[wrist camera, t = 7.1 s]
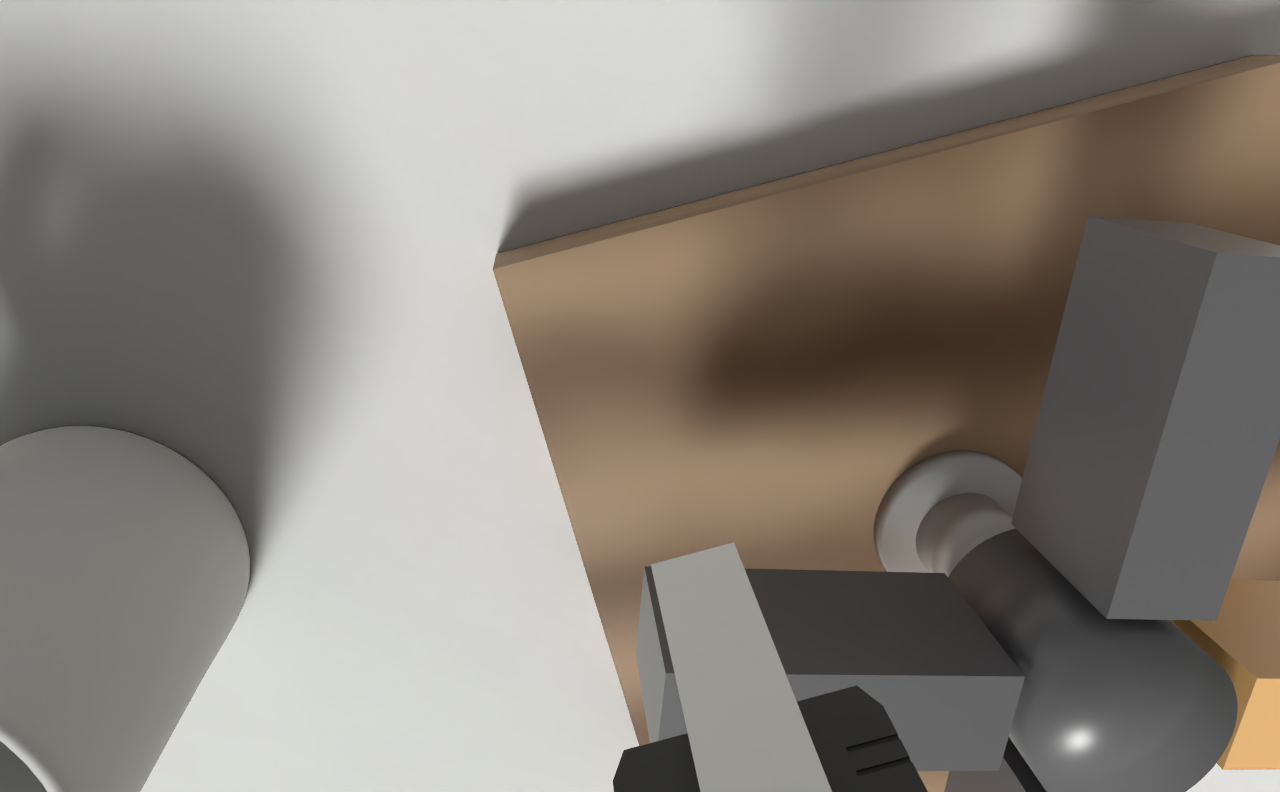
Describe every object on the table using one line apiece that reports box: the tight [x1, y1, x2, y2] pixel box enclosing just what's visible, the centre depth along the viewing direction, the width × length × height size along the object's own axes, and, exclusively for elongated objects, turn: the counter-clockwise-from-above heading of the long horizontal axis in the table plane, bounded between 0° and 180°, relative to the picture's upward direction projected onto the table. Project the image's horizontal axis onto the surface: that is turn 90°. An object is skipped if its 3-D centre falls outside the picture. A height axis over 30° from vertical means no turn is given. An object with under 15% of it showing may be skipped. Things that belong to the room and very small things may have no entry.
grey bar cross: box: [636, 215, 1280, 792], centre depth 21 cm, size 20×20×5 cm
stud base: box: [493, 55, 1280, 792], centre depth 27 cm, size 22×22×6 cm
